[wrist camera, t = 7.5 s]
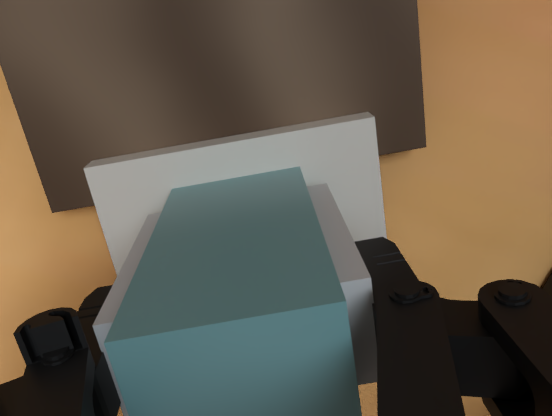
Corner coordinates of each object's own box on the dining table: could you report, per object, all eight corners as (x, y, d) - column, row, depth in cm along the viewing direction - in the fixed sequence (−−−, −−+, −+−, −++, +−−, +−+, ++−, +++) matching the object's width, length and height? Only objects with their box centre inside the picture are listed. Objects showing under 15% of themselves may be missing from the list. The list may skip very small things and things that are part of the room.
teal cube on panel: (368, 111, 18) (494, 212, 9) (383, 261, 20) (498, 468, 11) (91, 160, 18) (-71, 310, 9) (135, 304, 20) (41, 546, 11)
